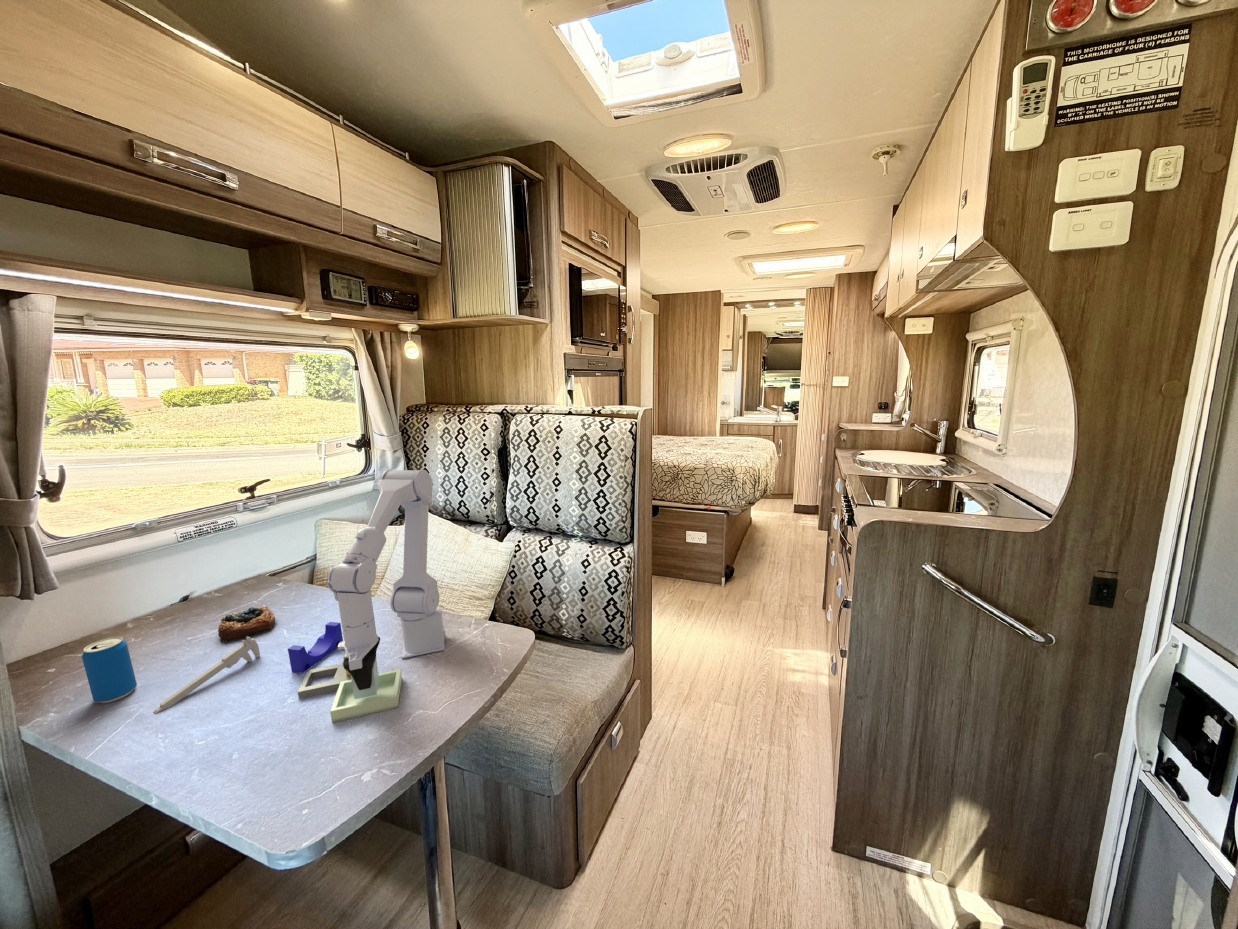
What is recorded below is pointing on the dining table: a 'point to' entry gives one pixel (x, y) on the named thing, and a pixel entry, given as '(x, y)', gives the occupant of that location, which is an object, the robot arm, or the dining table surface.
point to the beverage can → (109, 669)
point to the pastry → (246, 623)
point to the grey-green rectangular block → (374, 684)
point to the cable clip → (316, 649)
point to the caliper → (214, 671)
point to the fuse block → (326, 687)
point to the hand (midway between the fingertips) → (366, 681)
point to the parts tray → (367, 698)
